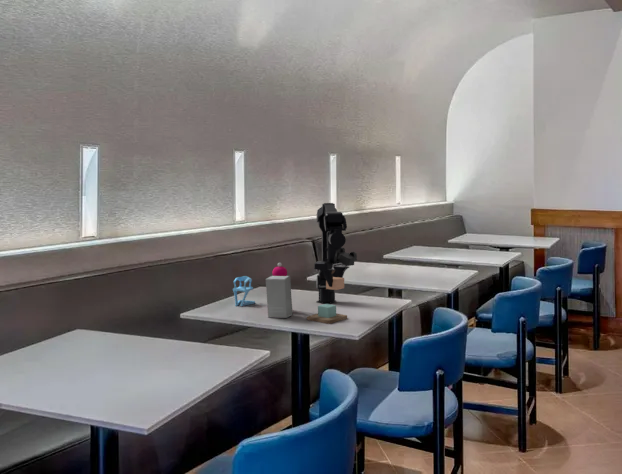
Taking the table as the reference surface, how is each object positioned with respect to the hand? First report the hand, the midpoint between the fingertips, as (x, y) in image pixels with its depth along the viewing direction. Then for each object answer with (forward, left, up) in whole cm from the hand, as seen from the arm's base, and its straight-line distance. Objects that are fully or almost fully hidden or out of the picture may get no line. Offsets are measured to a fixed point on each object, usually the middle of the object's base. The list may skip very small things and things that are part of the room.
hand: (334, 285), depth 232 cm
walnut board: (-1, -4, -13) cm, 13 cm away
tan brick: (0, 0, -1) cm, 1 cm away
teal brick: (-1, -4, -11) cm, 12 cm away
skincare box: (-19, -12, -13) cm, 25 cm away
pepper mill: (-25, -5, -13) cm, 28 cm away
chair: (-47, -5, -13) cm, 49 cm away
